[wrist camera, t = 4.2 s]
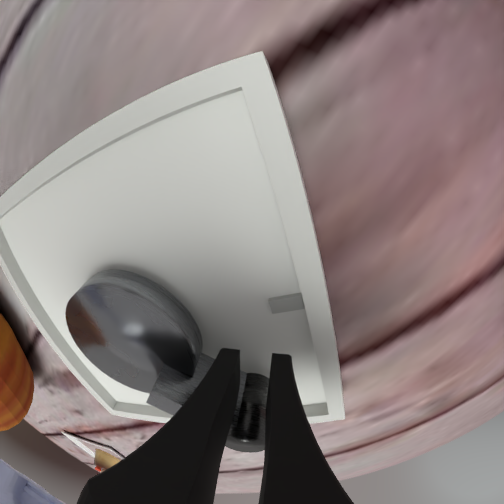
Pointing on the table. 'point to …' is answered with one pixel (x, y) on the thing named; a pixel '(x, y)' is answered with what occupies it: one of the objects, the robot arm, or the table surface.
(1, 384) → the pumpkin
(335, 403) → the board
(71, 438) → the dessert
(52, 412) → the table surface
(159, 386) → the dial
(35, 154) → the table surface
